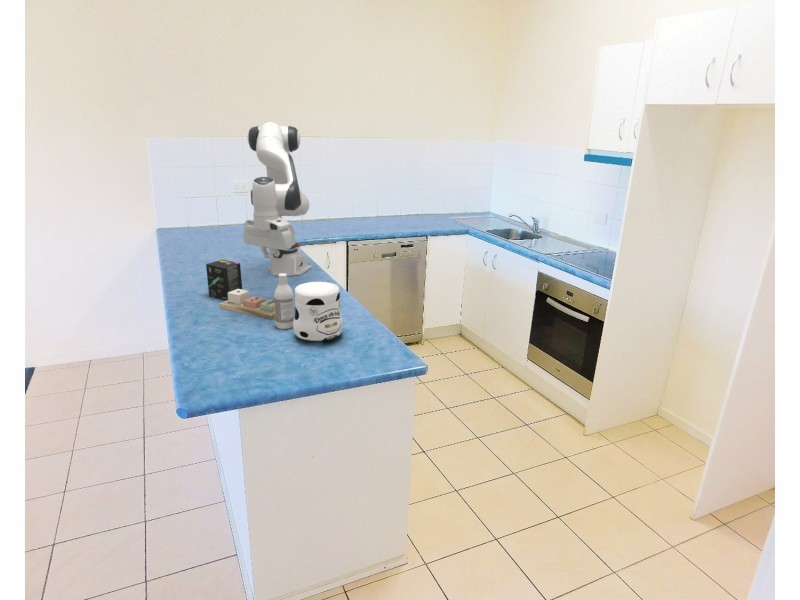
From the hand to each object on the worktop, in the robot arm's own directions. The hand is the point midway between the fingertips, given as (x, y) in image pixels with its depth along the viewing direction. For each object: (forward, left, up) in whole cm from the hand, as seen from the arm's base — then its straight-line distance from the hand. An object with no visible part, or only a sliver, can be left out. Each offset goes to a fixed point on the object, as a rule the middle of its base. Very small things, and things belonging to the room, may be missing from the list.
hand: (268, 258), depth 203 cm
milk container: (+11, +29, -22) cm, 38 cm away
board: (0, -8, -22) cm, 24 cm away
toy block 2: (0, -8, -22) cm, 23 cm away
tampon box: (-6, -29, -23) cm, 37 cm away
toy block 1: (0, -16, -20) cm, 26 cm away
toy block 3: (0, 0, -22) cm, 22 cm away
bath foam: (+9, +13, -22) cm, 27 cm away
